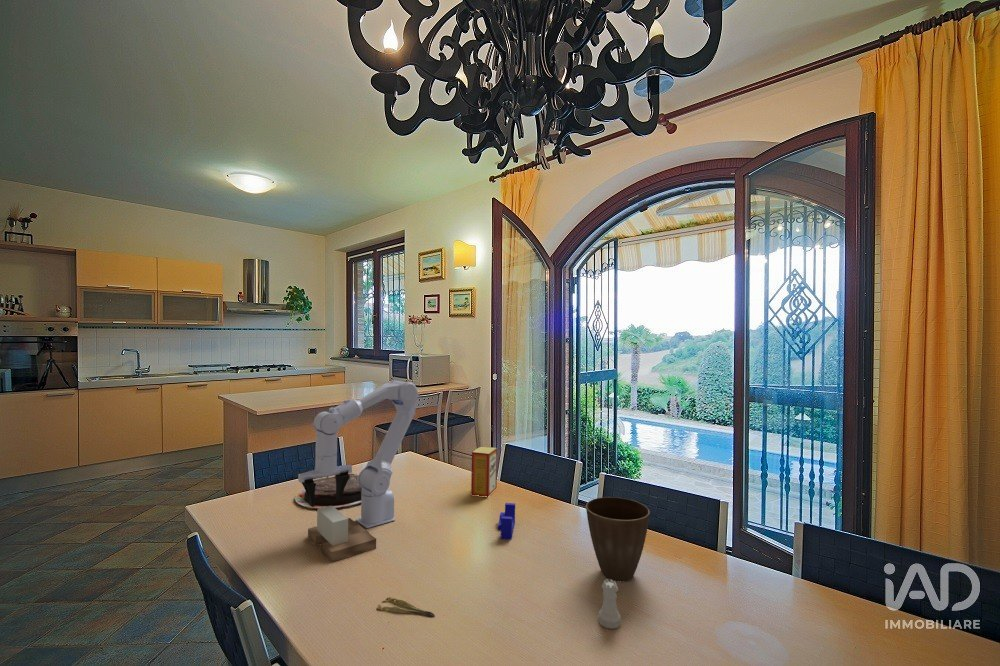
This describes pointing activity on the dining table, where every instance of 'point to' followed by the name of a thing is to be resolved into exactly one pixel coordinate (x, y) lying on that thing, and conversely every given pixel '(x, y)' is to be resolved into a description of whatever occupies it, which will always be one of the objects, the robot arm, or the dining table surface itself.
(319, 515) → the grey rubber bar
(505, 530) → the cable clip
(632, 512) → the plant pot
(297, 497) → the chocolate cake
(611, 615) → the rook chess piece
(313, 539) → the notched shelf
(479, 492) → the baking soda box
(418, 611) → the tongs
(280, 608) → the dining table surface
